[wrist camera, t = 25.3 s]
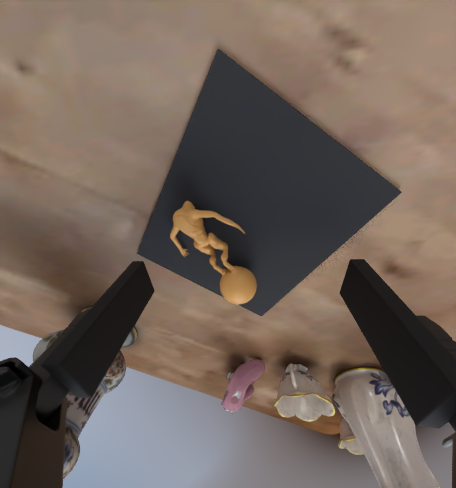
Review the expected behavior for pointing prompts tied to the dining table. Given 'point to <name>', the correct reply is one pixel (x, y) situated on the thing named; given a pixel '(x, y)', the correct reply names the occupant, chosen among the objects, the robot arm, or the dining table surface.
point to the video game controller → (242, 384)
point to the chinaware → (362, 421)
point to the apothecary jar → (84, 407)
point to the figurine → (235, 277)
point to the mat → (260, 189)
